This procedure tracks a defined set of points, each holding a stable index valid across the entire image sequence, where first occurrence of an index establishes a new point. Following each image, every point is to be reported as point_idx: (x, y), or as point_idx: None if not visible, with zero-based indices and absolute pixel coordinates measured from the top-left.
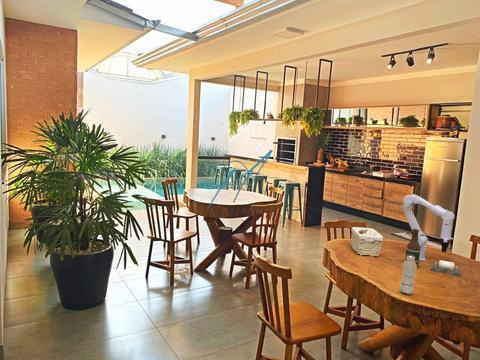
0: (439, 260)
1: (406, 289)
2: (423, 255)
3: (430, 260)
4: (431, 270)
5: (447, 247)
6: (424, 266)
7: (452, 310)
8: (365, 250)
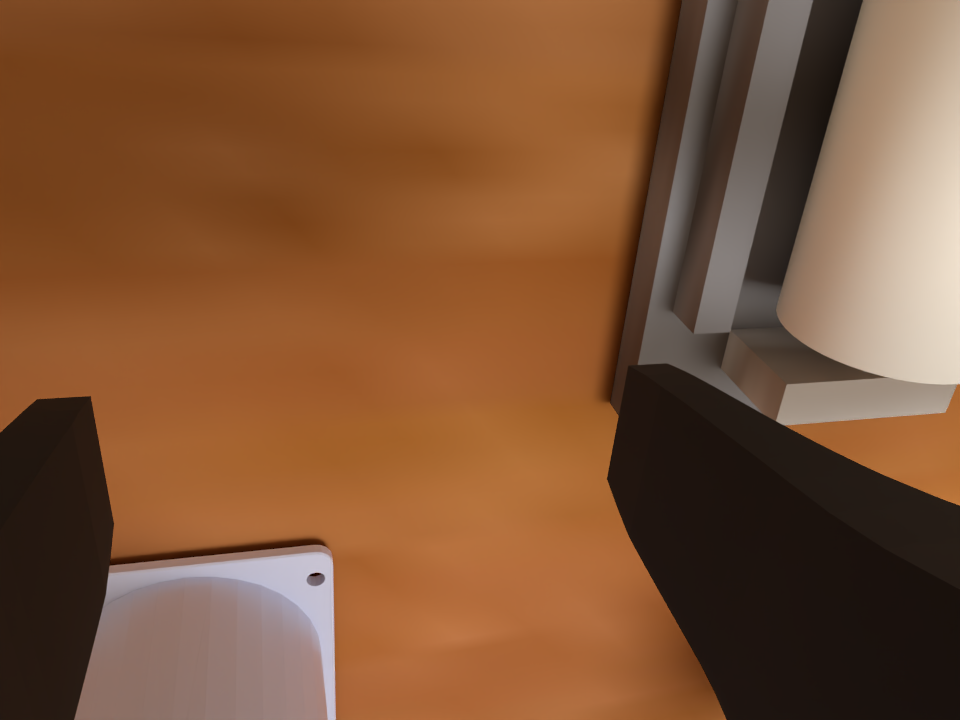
0: (928, 376)
1: None
2: (274, 663)
3: (139, 457)
4: None
5: (889, 480)
6: None
7: None
8: None
